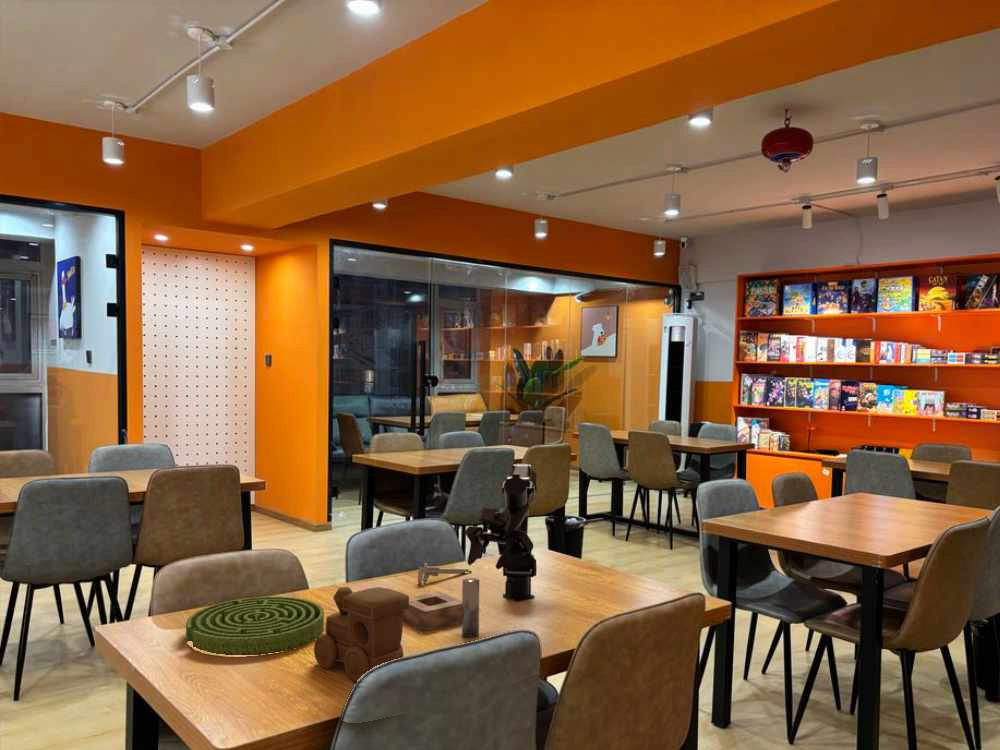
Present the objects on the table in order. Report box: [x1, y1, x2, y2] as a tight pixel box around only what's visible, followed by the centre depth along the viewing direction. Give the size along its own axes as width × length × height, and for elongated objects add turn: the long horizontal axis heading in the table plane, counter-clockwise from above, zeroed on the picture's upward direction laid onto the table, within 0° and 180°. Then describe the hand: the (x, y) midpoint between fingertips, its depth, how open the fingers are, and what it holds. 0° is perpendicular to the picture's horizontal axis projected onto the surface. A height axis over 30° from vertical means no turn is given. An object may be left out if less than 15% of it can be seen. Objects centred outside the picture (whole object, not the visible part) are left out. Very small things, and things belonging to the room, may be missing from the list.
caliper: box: [417, 562, 471, 585], centre depth 233 cm, size 20×1×6 cm, turn 134°
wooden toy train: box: [313, 586, 410, 682], centre depth 163 cm, size 20×11×17 cm, turn 49°
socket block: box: [403, 591, 462, 633], centre depth 196 cm, size 14×14×4 cm
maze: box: [185, 596, 325, 655], centre depth 184 cm, size 31×31×5 cm
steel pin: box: [461, 577, 480, 639], centre depth 184 cm, size 4×4×13 cm
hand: (482, 566), depth 191 cm, fingers open, 9 cm apart
